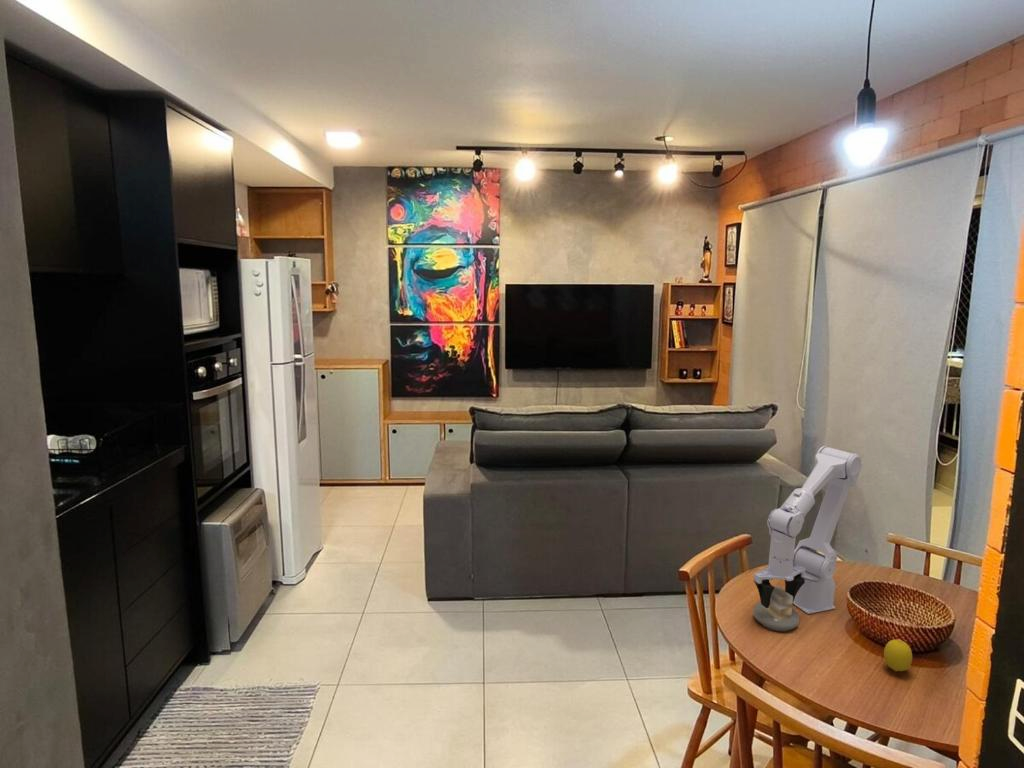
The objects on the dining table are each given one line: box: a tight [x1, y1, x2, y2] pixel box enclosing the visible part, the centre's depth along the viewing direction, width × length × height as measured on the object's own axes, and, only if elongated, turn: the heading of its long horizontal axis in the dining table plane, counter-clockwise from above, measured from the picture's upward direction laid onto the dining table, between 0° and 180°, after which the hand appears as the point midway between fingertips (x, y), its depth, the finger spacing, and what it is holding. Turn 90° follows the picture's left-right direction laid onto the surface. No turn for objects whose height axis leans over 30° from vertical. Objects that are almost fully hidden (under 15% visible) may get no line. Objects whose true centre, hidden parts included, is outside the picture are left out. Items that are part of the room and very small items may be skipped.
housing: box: [762, 584, 793, 620], centre depth 161 cm, size 4×6×6 cm, turn 18°
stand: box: [752, 601, 800, 632], centre depth 162 cm, size 11×11×2 cm
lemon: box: [883, 638, 913, 673], centre depth 142 cm, size 6×6×8 cm
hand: (776, 603), depth 162 cm, fingers open, 7 cm apart
